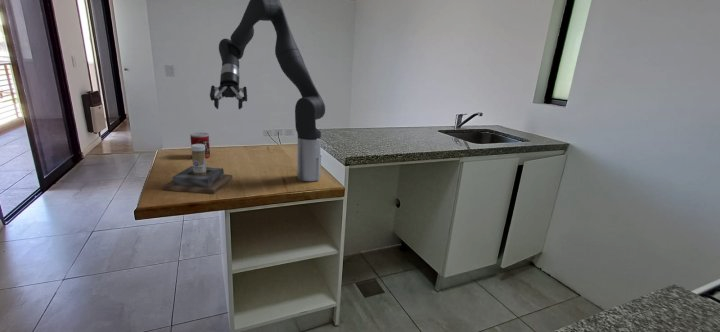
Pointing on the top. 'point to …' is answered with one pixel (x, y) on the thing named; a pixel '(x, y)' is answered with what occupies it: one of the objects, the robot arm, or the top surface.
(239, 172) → the top surface
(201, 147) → the sprinkles bottle
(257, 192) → the top surface
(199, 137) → the canned food
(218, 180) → the socket board
